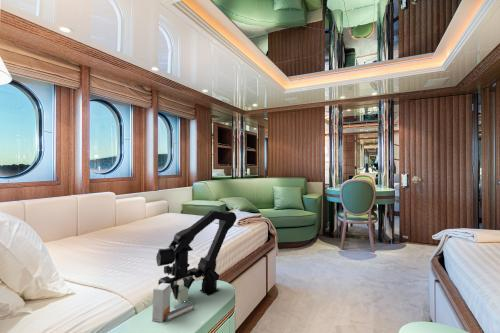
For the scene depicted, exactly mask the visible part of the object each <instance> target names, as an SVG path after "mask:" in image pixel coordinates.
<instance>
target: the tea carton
mask: <svg viewBox="0 0 500 333" xmlns="http://www.w3.org/2000/svg"><path fill="white" fill-rule="evenodd" d="M178 285H179V290H178V297H177V299H175V297H174V294H173V293H172V300H174V299H175V300H174V301H176V300H177V301H178V302H177V301H176V302H177V303H178V304H180V303H182V302H184V301H187V300H188V301H189V291H190V290H189V289H190V288H189V289H188V288H186V287H185V286H184V284H178Z"/></svg>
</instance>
